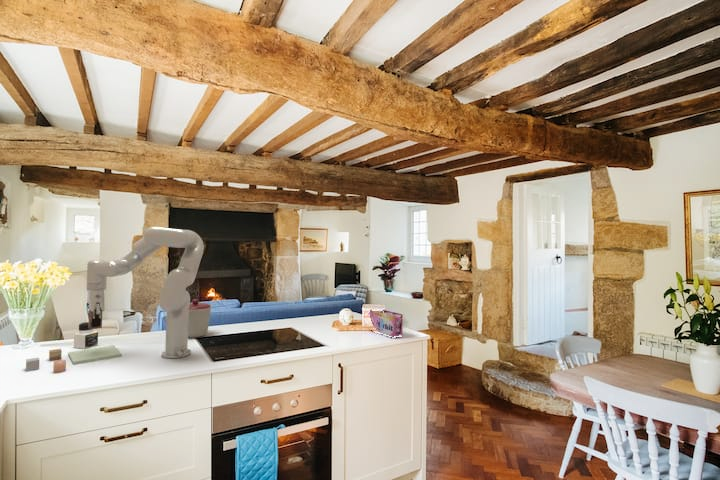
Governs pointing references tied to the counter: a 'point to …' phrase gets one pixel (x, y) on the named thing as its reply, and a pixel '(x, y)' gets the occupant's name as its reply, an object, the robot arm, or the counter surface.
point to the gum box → (387, 322)
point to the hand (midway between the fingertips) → (95, 325)
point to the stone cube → (32, 364)
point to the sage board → (94, 354)
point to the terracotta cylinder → (59, 366)
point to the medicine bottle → (85, 337)
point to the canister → (198, 318)
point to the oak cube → (55, 354)
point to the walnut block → (91, 320)
